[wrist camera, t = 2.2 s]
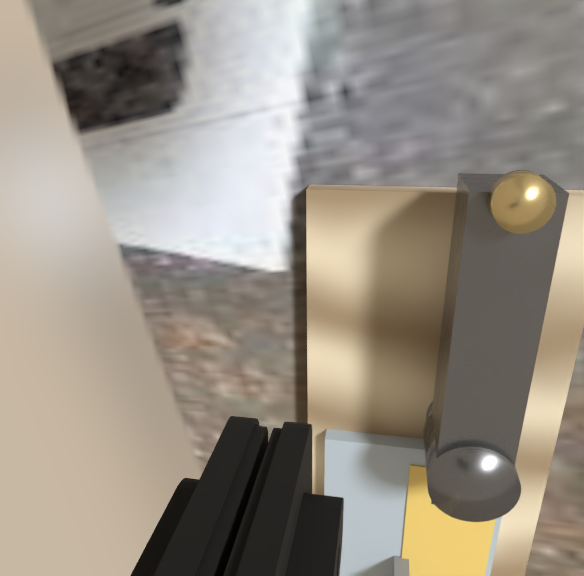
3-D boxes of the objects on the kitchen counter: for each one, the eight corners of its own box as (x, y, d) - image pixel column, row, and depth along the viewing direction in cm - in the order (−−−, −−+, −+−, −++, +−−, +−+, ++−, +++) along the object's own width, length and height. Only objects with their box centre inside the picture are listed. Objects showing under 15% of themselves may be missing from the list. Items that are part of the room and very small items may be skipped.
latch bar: (498, 468, 24) (516, 537, 21) (420, 459, 25) (424, 525, 21) (556, 155, 18) (594, 176, 15) (452, 154, 19) (465, 174, 15)
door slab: (326, 428, 26) (316, 486, 23) (509, 448, 25) (529, 512, 21) (324, 581, 31) (315, 649, 27) (479, 605, 29) (491, 680, 26)
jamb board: (309, 184, 23) (306, 189, 22) (604, 190, 20) (614, 196, 20) (311, 575, 32) (308, 589, 32) (509, 605, 30) (513, 622, 29)
